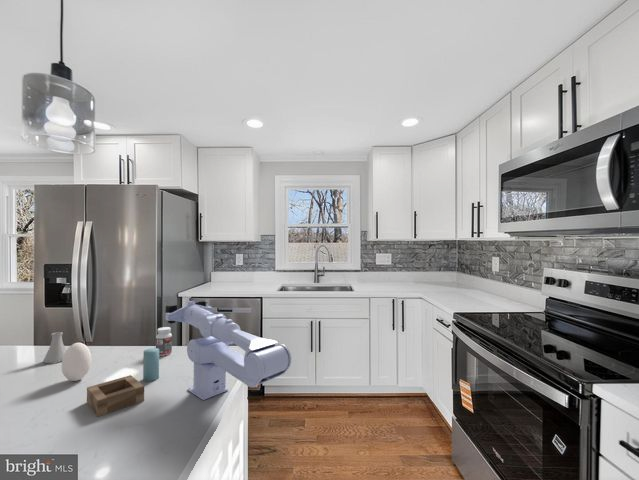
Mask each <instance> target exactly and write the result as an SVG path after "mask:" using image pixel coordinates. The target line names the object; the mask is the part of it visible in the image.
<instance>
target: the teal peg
mask: <svg viewBox="0 0 639 480" xmlns="http://www.w3.org/2000/svg"><path fill="white" fill-rule="evenodd" d="M142 366H143V371H142V372H143V373H142V376H143V377H142V380H143V382H144V383H146V382H147V383H150V382H154V381H157V380H158V379H159V378H160V356H159V349H158V348H156V347H153V348H148V349H144V350H143V363H142Z"/></svg>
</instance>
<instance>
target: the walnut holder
mask: <svg viewBox="0 0 639 480" xmlns="http://www.w3.org/2000/svg"><path fill="white" fill-rule="evenodd" d="M144 401H145V385H144V384H142V383H141V382H140V381H138V380H137V379H136V378H135V377H133V375H131V374H129V375H126V376H122V377H119V378H116V379H112V380H109V381H105V382H102V383H97V384H95V385H92V386H91V385H90V386H88V387H86V404H88V407H90V409H91V411H93V413H94V414H95V415H96V417H97V418H99V417H101V416H104V415H106V414H110V413H112V412H116V411H119V410H121V409H124V408H127V407H130V406H133V405H136V404H138V403H142V402H144Z"/></svg>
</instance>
